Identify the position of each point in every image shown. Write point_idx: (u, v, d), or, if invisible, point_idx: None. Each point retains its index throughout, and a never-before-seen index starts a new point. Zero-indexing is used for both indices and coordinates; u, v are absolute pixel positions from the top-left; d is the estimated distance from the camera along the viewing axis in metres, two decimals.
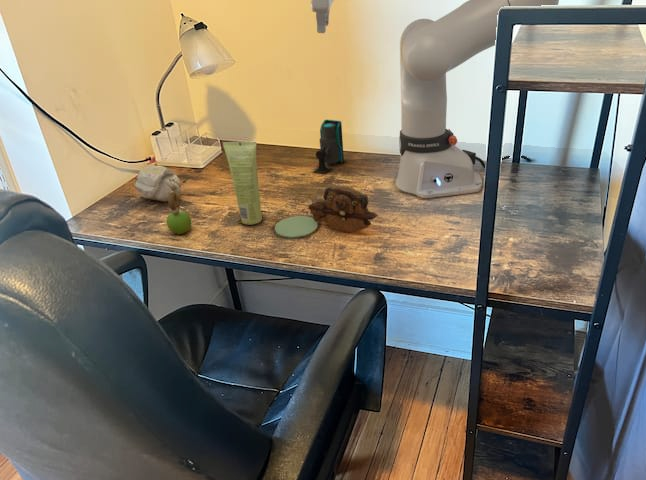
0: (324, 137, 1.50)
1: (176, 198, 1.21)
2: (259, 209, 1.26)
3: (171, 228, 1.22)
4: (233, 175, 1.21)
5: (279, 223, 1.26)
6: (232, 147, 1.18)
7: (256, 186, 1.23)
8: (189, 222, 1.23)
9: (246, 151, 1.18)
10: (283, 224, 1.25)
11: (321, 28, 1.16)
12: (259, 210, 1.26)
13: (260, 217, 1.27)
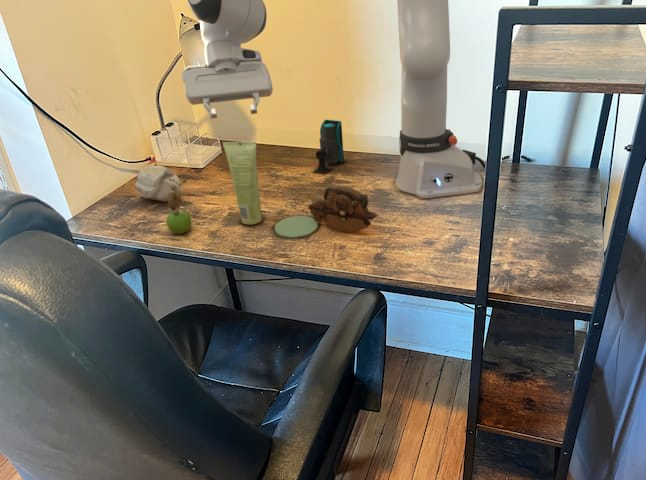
0: (324, 137, 1.50)
1: (176, 198, 1.21)
2: (259, 209, 1.26)
3: (171, 228, 1.22)
4: (233, 175, 1.21)
5: (279, 223, 1.26)
6: (232, 147, 1.18)
7: (256, 186, 1.23)
8: (189, 222, 1.23)
9: (246, 151, 1.18)
10: (283, 224, 1.25)
11: None
12: (259, 210, 1.26)
13: (260, 217, 1.27)
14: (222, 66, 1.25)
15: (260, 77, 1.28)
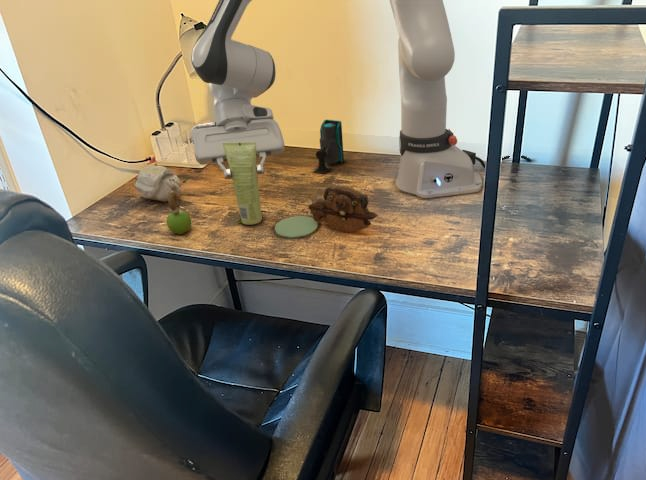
0: (324, 137, 1.50)
1: (176, 198, 1.21)
2: (259, 209, 1.26)
3: (171, 228, 1.22)
4: (233, 175, 1.21)
5: (279, 223, 1.26)
6: (232, 147, 1.18)
7: (256, 186, 1.22)
8: (189, 222, 1.23)
9: (246, 151, 1.18)
10: (283, 224, 1.25)
11: (224, 174, 1.21)
12: (259, 210, 1.26)
13: (260, 217, 1.27)
14: (232, 125, 1.20)
15: (272, 135, 1.22)
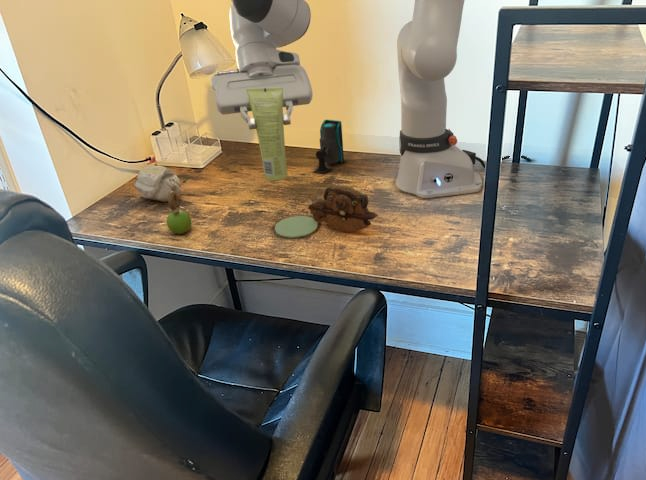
0: (324, 137, 1.50)
1: (176, 198, 1.21)
2: (285, 164, 1.17)
3: (171, 228, 1.22)
4: (257, 125, 1.11)
5: (279, 223, 1.26)
6: (256, 94, 1.09)
7: (282, 138, 1.13)
8: (189, 222, 1.23)
9: (272, 98, 1.09)
10: (283, 224, 1.25)
11: (248, 124, 1.11)
12: (285, 165, 1.17)
13: (285, 173, 1.18)
14: (256, 71, 1.11)
15: (299, 82, 1.13)
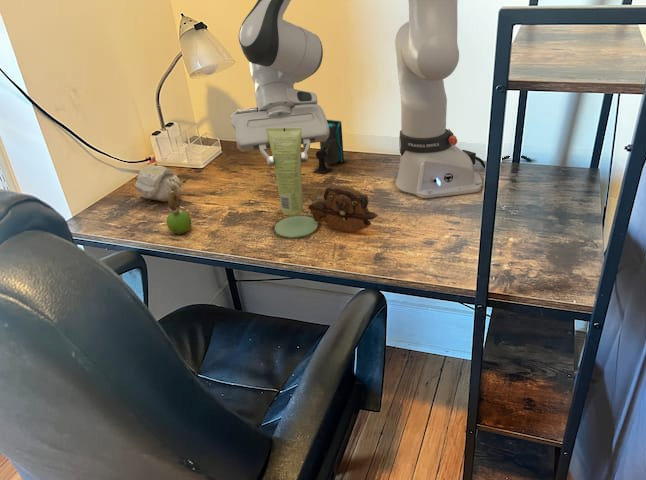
0: None
1: (176, 198, 1.21)
2: (301, 199, 1.20)
3: (171, 228, 1.22)
4: (276, 162, 1.15)
5: (279, 223, 1.26)
6: (276, 133, 1.12)
7: (299, 174, 1.16)
8: (189, 222, 1.23)
9: (291, 137, 1.12)
10: (283, 224, 1.25)
11: None
12: (301, 200, 1.20)
13: (302, 207, 1.21)
14: (276, 110, 1.14)
15: (316, 121, 1.16)
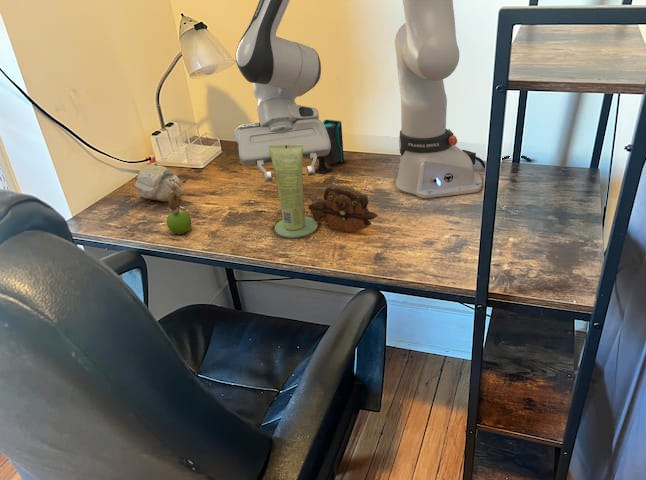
0: None
1: (176, 198, 1.21)
2: (303, 214, 1.22)
3: (171, 228, 1.22)
4: (278, 179, 1.17)
5: (279, 223, 1.26)
6: (278, 150, 1.14)
7: (301, 190, 1.19)
8: (189, 222, 1.23)
9: (292, 154, 1.14)
10: (283, 224, 1.25)
11: None
12: (303, 215, 1.22)
13: (304, 222, 1.23)
14: (278, 125, 1.16)
15: (318, 136, 1.18)
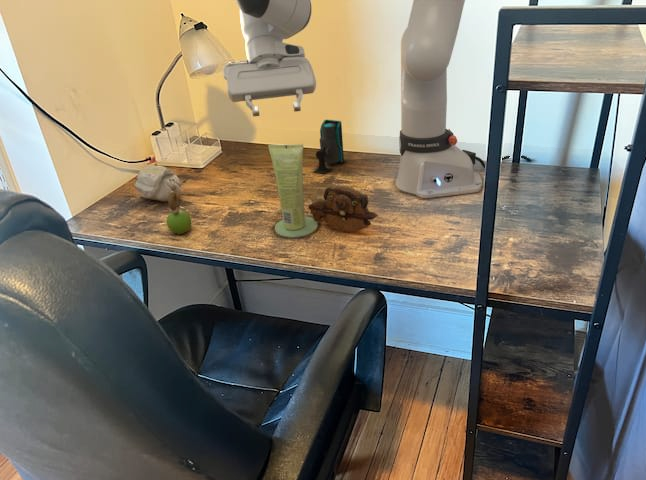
0: (324, 137, 1.50)
1: (176, 198, 1.21)
2: (303, 214, 1.22)
3: (171, 228, 1.22)
4: (278, 179, 1.17)
5: (279, 223, 1.26)
6: (278, 150, 1.14)
7: (301, 190, 1.19)
8: (189, 222, 1.23)
9: (292, 154, 1.14)
10: (283, 224, 1.25)
11: (252, 111, 1.21)
12: (303, 215, 1.22)
13: (304, 222, 1.23)
14: (265, 62, 1.21)
15: (304, 73, 1.23)
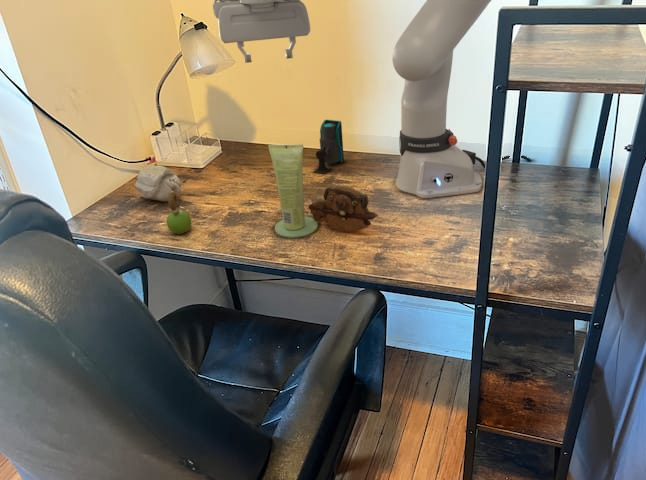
0: (324, 137, 1.50)
1: (176, 198, 1.21)
2: (303, 214, 1.22)
3: (171, 228, 1.22)
4: (278, 179, 1.17)
5: (279, 223, 1.26)
6: (278, 150, 1.14)
7: (301, 190, 1.19)
8: (189, 222, 1.23)
9: (292, 154, 1.14)
10: (283, 224, 1.25)
11: (244, 58, 1.22)
12: (303, 215, 1.22)
13: (304, 222, 1.23)
14: (259, 9, 1.15)
15: (299, 20, 1.19)
